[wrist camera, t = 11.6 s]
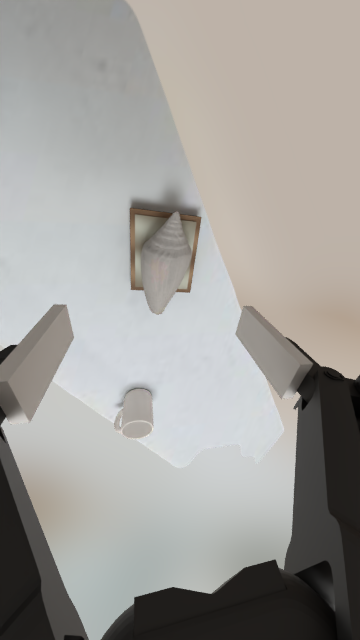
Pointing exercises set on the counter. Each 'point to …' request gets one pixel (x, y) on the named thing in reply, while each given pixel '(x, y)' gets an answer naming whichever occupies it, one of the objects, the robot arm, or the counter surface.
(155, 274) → the seashell
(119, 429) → the mug
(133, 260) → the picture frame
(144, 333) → the counter surface
